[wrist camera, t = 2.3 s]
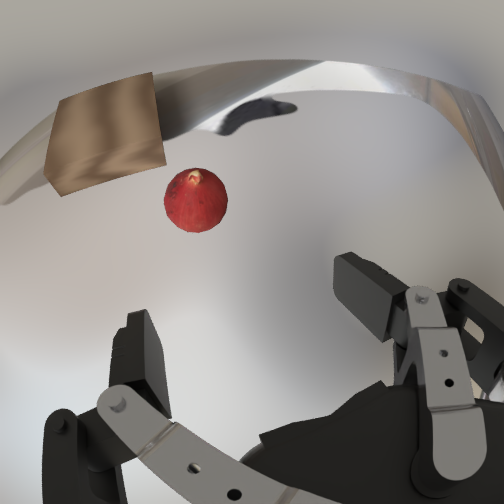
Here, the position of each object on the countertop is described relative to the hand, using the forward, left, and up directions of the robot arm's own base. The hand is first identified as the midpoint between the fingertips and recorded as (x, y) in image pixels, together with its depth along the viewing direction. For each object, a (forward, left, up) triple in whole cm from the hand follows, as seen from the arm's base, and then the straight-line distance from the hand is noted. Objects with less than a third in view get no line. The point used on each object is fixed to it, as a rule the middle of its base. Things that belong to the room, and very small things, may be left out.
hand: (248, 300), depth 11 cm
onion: (0, +12, -15) cm, 19 cm away
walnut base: (-9, +27, -15) cm, 32 cm away
